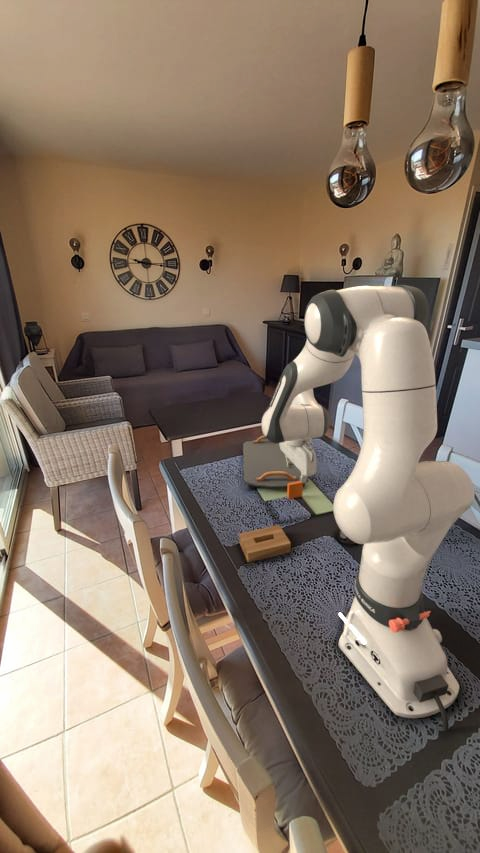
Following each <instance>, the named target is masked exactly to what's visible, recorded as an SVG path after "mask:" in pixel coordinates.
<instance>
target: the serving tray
mask: <svg viewBox="0 0 480 853" xmlns="http://www.w3.org/2000/svg"><path fill="white" fill-rule="evenodd" d="M242 455H243V458H242V465H243V466H242V472H243V473H242V474H243V483H244V484H246V485H247V488H248V489H249V490H252V489H253V488H254V487H288V483H292V482H297V481H300V480H299V476H301V471H300V470H299V469H298V468H297V467H296V466H295V465H293V466H294V467H293V468H291V469H289V468H288V467H287V461H286V457H285V454H284V453H283V452H282V451H281V449H280V446H279V443H276V444H274V443H272V442H271V441H269V440H268V439H267V438H265V437H264V435H261V436H259V437H258V438H257V439H254V440H249V441H245V442H244V443H243V444H242ZM308 478H309V476H307V481H306V482H308V481H309V479H310V478H309V479H308ZM306 482H305V483H306ZM305 483H303V487H304V486H305Z"/></svg>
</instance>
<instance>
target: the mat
mask: <svg viewBox="0 0 480 853" xmlns="http://www.w3.org/2000/svg"><path fill="white" fill-rule="evenodd" d="M308 479H309V481H308V482H306V483H305V486H304V487H303V492H302V497H301V498H302V500H303V501H304V502H305V503H306V505H308V507H309V508H310V509H311V510H312V512H313V513H314V514H315V515H316V516H319V515H323V514H328V513H332V512H334V511H333V503H332V502H331V500H330V499H328V497H327V496H326V495H325V494H324V493H323V492H322V491H321V490H320V489H319V488H318V486H316V484H315V483H314V482H313V481H312V480H311V479H310V478H309V477H308ZM287 488H288V487H261V486H259V487H256V490H257V492H258V493H259V495H260V496H261V498H262V499H263V501H264V502H267V501H273V500H277V499H283V498H287Z"/></svg>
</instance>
